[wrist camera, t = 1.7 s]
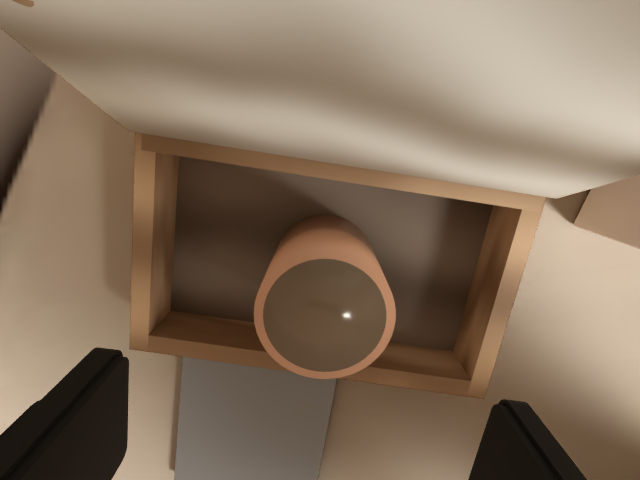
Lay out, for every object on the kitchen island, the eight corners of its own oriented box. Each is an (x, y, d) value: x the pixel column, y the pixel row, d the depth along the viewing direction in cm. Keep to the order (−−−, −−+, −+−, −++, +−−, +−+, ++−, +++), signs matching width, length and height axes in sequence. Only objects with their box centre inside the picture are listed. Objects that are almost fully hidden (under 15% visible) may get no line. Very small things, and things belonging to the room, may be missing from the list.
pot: (364, 316, 24) (380, 388, 17) (268, 302, 24) (246, 369, 17) (383, 223, 22) (409, 261, 15) (280, 207, 22) (261, 239, 15)
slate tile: (314, 491, 28) (314, 498, 27) (177, 473, 28) (174, 480, 27) (336, 372, 25) (337, 378, 25) (185, 351, 25) (182, 356, 24)
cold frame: (462, 363, 25) (700, 753, 9) (156, 319, 24) (-153, 656, 9) (537, 101, 21) (1219, -14, 5) (169, 40, 20) (-396, -313, 4)
